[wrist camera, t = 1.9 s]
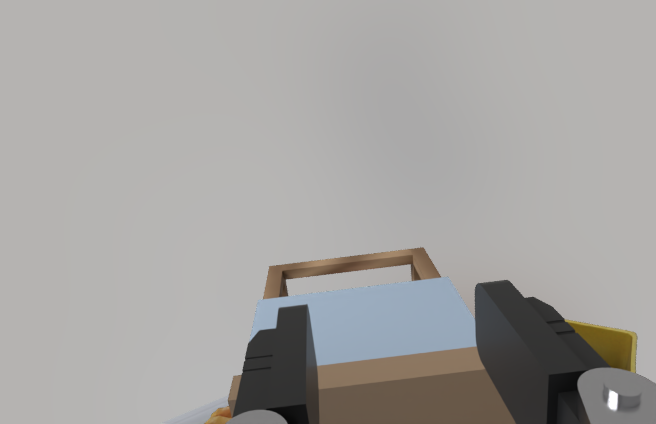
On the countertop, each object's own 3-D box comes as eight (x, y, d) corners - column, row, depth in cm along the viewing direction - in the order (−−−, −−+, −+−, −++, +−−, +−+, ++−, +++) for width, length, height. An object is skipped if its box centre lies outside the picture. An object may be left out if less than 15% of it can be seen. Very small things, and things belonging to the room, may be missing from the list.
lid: (221, 507, 22) (195, 404, 20) (260, 310, 39) (247, 244, 37) (556, 466, 22) (562, 359, 20) (448, 287, 39) (446, 220, 37)
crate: (284, 564, 36) (246, 383, 30) (292, 401, 53) (269, 266, 47) (488, 539, 36) (486, 353, 30) (430, 384, 53) (423, 247, 47)
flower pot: (534, 383, 51) (536, 312, 48) (628, 408, 46) (637, 330, 43) (517, 441, 44) (518, 361, 41) (626, 476, 39) (636, 390, 36)
